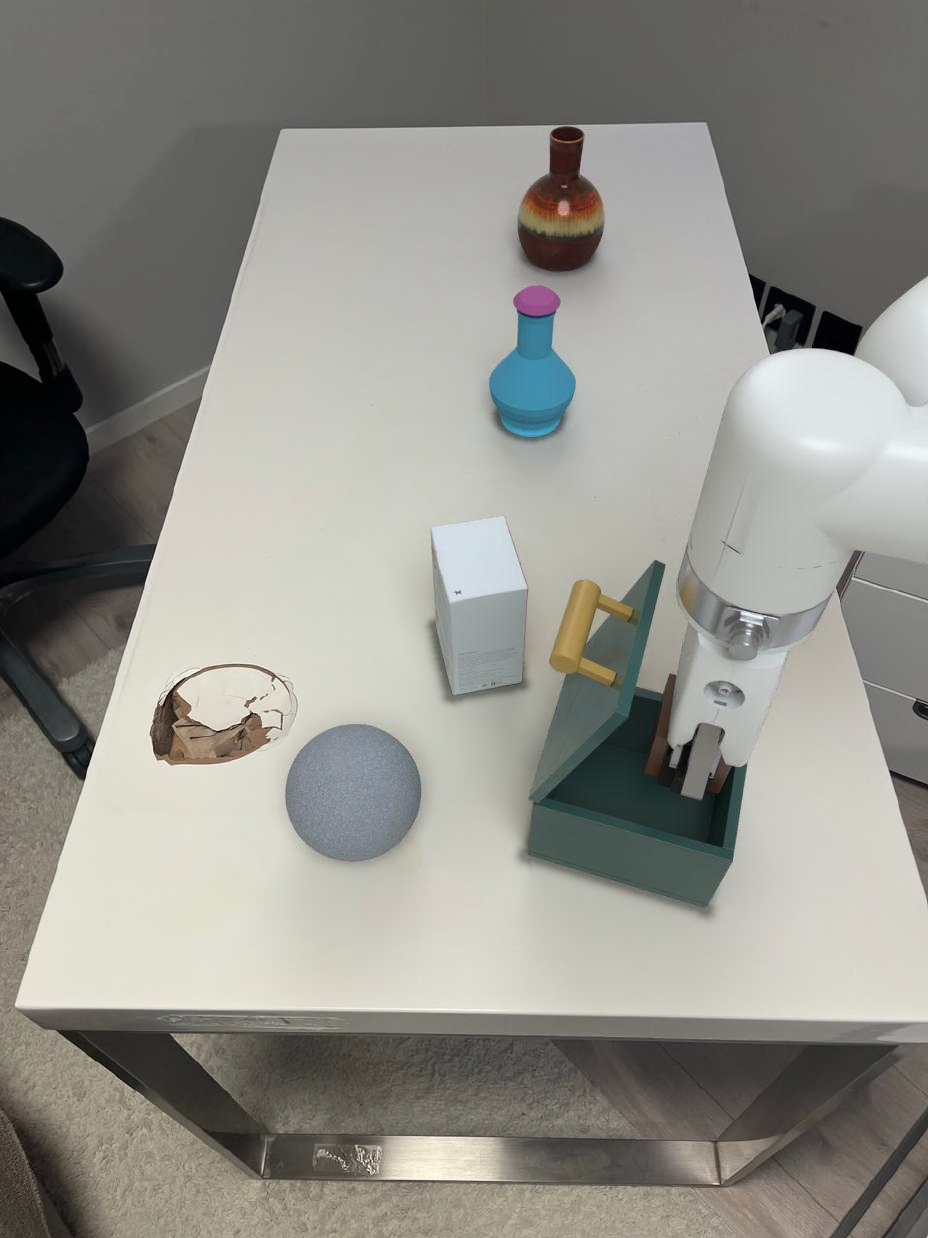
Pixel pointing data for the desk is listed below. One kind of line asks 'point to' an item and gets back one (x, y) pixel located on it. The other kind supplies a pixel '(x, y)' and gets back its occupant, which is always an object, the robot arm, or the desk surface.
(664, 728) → the block
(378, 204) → the desk surface
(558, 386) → the perfume bottle
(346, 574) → the desk surface
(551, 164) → the vase
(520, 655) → the small box
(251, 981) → the desk surface
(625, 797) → the green hollow open box
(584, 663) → the lid
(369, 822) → the decorative stone
